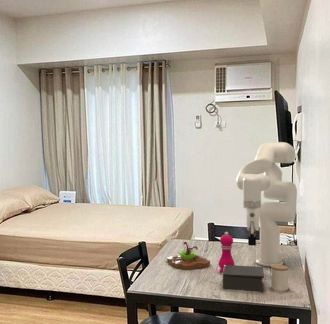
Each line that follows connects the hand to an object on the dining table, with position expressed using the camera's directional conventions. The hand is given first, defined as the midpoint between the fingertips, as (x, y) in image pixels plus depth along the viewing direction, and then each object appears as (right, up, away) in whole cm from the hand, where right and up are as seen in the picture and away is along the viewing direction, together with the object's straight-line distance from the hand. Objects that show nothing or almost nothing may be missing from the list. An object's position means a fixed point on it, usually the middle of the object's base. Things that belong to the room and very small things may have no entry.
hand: (252, 244), depth 214 cm
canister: (+8, -17, -10) cm, 22 cm away
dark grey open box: (-6, -17, -6) cm, 19 cm away
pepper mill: (-7, -16, +15) cm, 23 cm away
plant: (-22, -15, +32) cm, 42 cm away
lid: (-6, -11, -6) cm, 14 cm away
